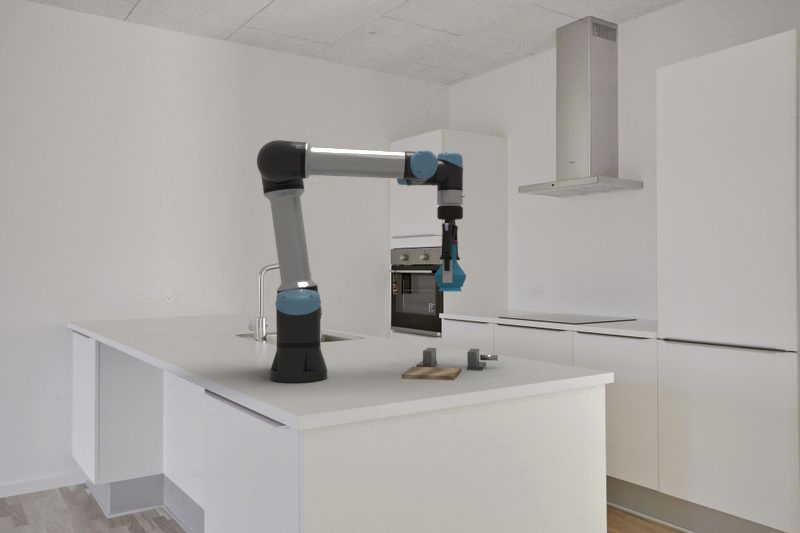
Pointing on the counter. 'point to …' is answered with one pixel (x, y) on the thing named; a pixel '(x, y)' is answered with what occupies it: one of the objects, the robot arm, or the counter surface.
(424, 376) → the pad
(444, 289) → the blue vase
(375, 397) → the counter surface
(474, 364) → the vise
